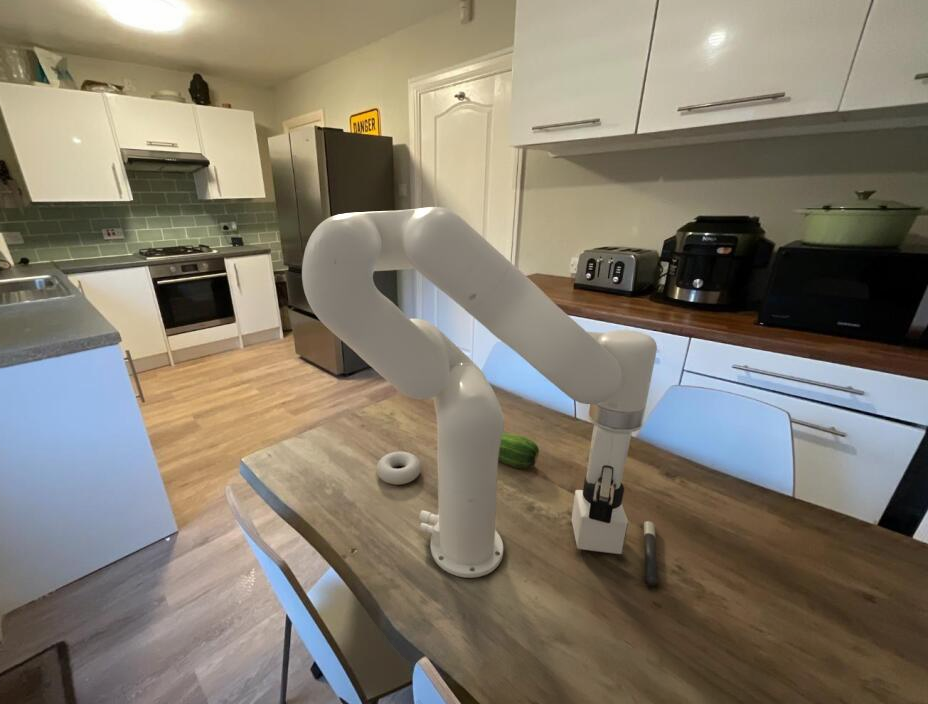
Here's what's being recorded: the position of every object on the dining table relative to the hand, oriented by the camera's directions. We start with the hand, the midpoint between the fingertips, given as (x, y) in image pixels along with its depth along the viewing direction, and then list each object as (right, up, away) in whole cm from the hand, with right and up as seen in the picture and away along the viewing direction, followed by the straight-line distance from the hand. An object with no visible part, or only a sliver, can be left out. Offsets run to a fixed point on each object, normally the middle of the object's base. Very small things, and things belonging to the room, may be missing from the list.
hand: (601, 503), depth 69 cm
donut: (-35, -1, +23) cm, 42 cm away
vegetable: (-12, +2, +28) cm, 30 cm away
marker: (+8, -8, 0) cm, 11 cm away
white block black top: (0, -7, +3) cm, 8 cm away
